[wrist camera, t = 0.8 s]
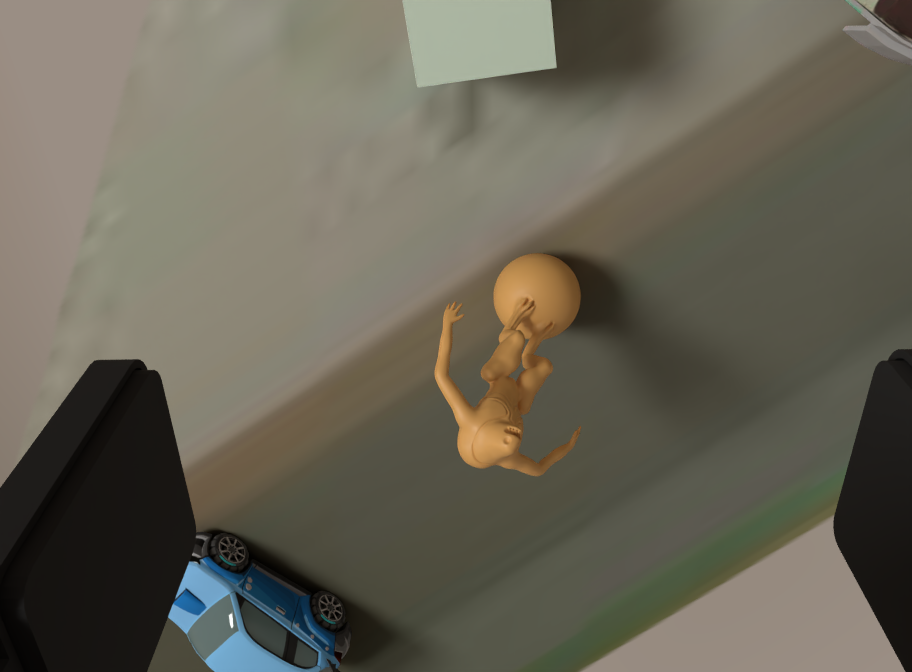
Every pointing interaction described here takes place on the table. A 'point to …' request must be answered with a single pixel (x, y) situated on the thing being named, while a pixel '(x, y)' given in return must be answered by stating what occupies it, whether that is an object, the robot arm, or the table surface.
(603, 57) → the table surface
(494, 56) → the green block
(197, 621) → the toy car
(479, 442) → the figurine
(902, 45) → the food container
